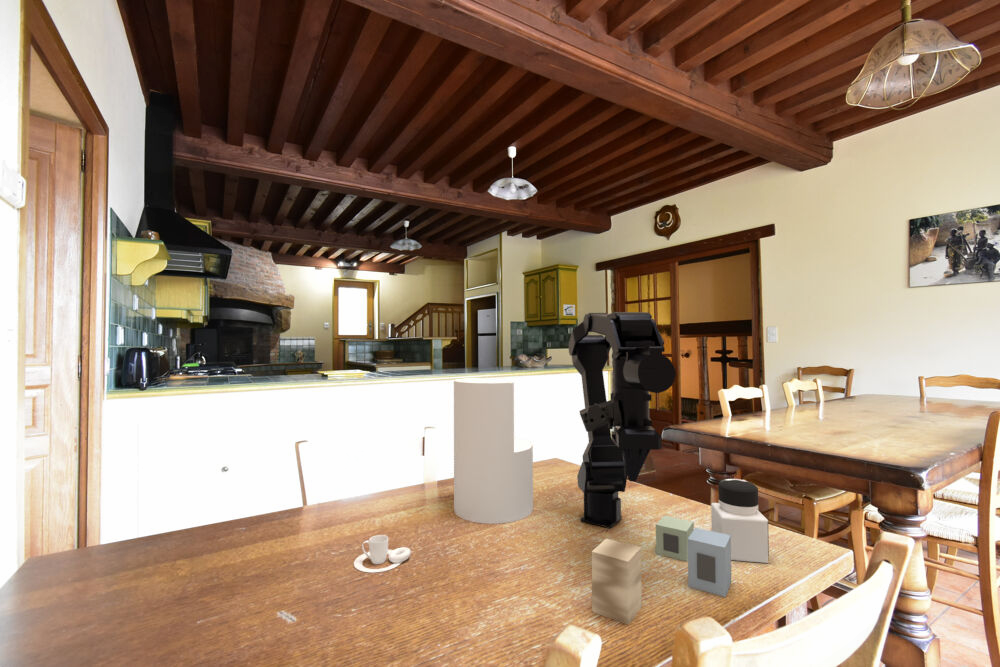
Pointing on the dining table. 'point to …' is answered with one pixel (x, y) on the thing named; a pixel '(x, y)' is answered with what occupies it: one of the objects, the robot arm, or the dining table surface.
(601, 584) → the beech block
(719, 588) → the slate numbered block
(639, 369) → the robot arm
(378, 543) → the teacup and saucer
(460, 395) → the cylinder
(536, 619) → the dining table surface
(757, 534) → the medicine bottle
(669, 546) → the sage numbered block
